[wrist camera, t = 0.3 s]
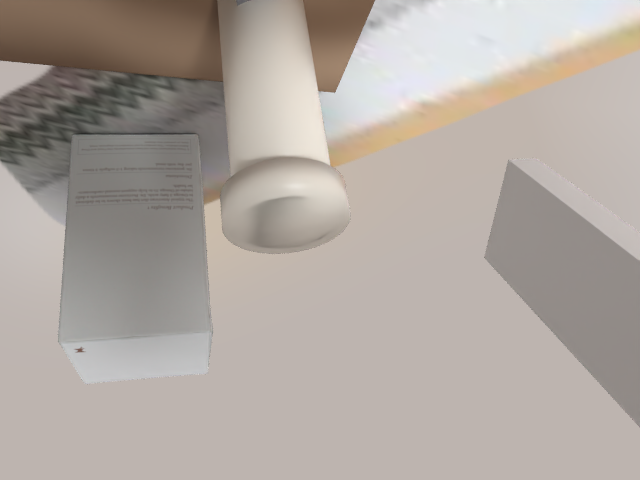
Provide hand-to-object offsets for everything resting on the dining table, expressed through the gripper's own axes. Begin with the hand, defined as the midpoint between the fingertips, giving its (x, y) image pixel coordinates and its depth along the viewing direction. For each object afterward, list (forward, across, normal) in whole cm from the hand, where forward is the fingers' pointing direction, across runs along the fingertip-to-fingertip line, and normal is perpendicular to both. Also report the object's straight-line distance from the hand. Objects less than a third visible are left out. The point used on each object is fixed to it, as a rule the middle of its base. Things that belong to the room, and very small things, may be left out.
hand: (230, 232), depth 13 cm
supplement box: (+25, -2, -10) cm, 27 cm away
